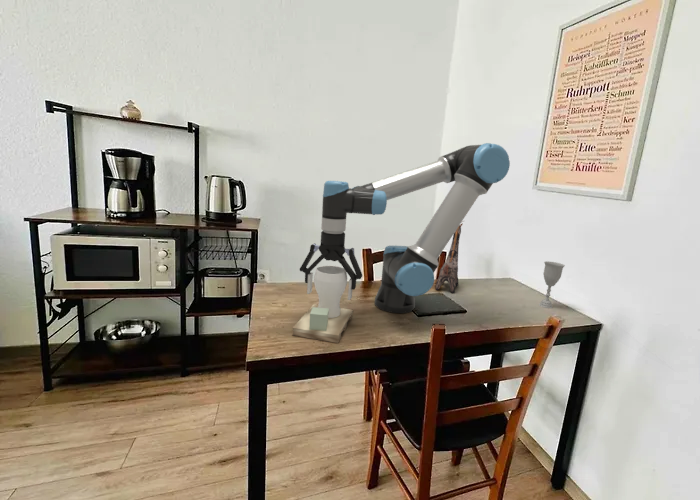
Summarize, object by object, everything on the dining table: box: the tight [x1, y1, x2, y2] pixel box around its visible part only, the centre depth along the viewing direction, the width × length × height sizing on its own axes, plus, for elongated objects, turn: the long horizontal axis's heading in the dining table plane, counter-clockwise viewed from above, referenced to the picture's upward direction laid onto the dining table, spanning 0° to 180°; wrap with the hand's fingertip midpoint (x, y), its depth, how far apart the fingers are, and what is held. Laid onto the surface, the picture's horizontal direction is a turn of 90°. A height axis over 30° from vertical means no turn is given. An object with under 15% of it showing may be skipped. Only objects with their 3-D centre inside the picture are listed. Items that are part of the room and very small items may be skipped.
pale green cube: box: [309, 307, 329, 331], centre depth 106 cm, size 5×5×5 cm
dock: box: [292, 303, 354, 344], centre depth 113 cm, size 14×20×2 cm
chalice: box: [538, 260, 566, 309], centre depth 144 cm, size 7×7×18 cm
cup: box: [313, 265, 348, 318], centre depth 115 cm, size 11×11×15 cm
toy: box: [434, 220, 464, 294], centre depth 157 cm, size 9×26×30 cm, turn 156°
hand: (329, 295), depth 115 cm, fingers open, 13 cm apart
